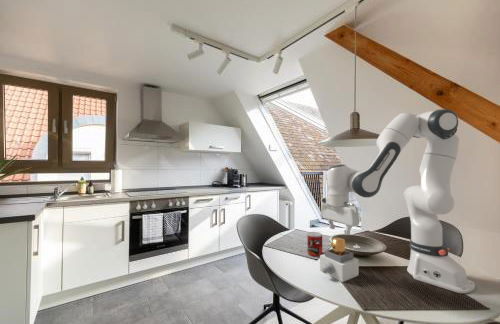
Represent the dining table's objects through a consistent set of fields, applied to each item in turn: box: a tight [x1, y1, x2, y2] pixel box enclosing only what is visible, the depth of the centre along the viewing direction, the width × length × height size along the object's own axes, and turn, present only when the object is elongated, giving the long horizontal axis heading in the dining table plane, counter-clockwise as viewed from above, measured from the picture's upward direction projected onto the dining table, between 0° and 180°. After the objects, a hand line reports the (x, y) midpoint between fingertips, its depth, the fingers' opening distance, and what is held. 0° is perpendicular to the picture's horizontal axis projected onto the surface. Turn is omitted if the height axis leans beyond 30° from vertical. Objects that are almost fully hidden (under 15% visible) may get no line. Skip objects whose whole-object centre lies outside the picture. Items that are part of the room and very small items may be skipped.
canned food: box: [306, 231, 323, 257], centre depth 126 cm, size 8×8×11 cm
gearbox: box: [319, 247, 360, 283], centre depth 103 cm, size 12×15×10 cm
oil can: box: [329, 237, 346, 256], centre depth 103 cm, size 8×5×8 cm
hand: (339, 231), depth 104 cm, fingers open, 8 cm apart
